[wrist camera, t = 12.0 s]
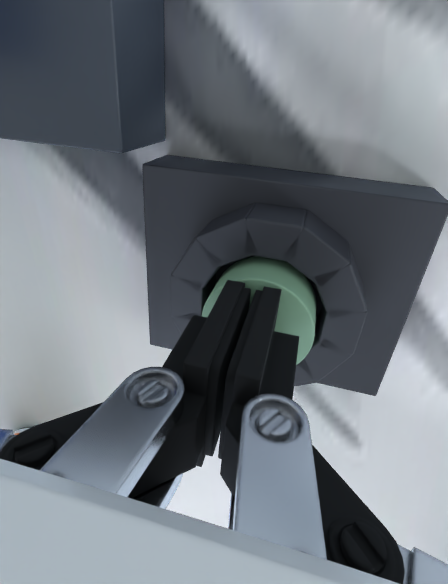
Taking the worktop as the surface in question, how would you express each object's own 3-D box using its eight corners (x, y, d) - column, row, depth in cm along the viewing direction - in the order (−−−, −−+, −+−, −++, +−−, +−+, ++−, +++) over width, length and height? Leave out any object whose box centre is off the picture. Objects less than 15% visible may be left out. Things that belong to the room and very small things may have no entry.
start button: (326, 265, 11) (325, 291, 10) (305, 352, 13) (303, 385, 12) (218, 247, 12) (203, 269, 11) (212, 332, 14) (199, 361, 12)
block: (434, 187, 12) (473, 223, 9) (370, 362, 16) (381, 432, 13) (166, 154, 14) (115, 173, 11) (167, 319, 18) (131, 370, 15)
